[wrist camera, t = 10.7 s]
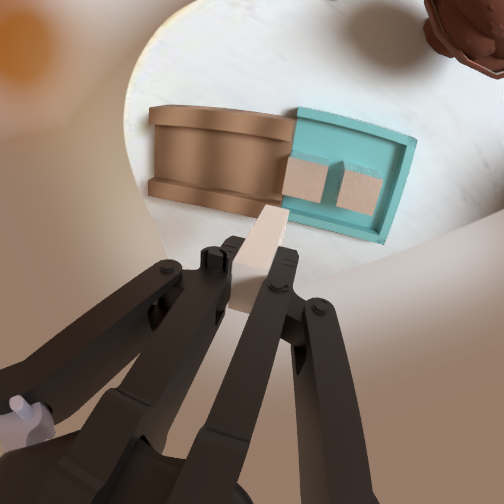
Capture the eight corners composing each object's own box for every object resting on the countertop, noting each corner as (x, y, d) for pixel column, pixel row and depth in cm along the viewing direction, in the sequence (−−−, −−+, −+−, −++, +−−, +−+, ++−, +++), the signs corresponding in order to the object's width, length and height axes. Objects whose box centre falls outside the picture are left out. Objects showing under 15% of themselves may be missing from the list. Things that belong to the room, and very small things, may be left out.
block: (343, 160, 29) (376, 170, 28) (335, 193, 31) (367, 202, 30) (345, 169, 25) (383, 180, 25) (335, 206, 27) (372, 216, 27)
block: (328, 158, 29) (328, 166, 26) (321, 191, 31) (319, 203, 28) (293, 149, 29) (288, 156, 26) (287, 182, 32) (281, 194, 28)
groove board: (298, 119, 28) (293, 121, 24) (282, 207, 34) (275, 222, 30) (169, 104, 30) (149, 107, 27) (166, 184, 36) (148, 195, 33)
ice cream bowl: (416, 79, 22) (482, 71, 9) (389, -7, 17) (425, -66, 4) (489, 83, 18) (570, 92, 6) (465, 1, 13) (528, -31, 1)
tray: (411, 137, 25) (417, 139, 24) (381, 236, 33) (383, 244, 31) (300, 106, 27) (298, 106, 26) (281, 210, 34) (278, 218, 33)
